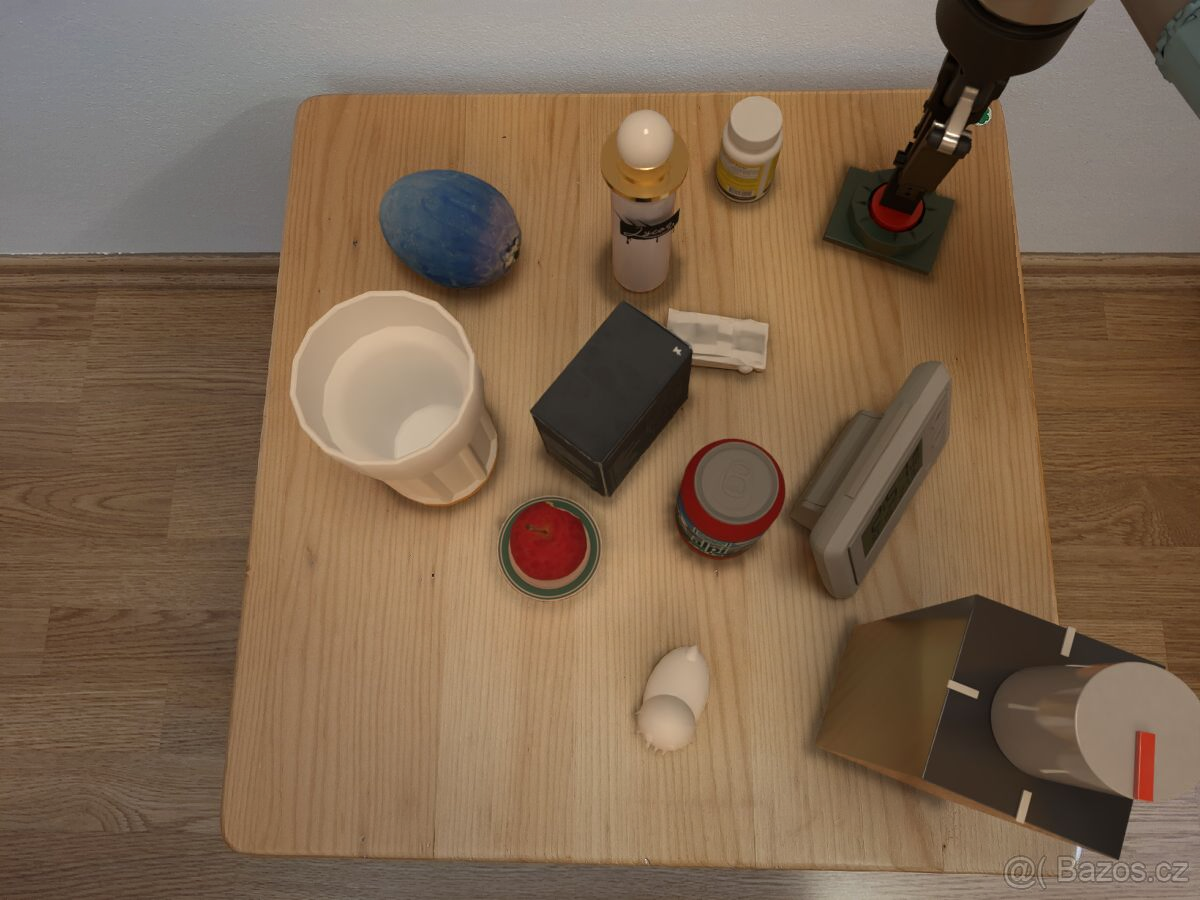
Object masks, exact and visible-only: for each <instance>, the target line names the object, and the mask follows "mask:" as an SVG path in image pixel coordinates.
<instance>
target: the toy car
mask: <svg viewBox="0 0 1200 900" xmlns="http://www.w3.org/2000/svg"><path fill="white" fill-rule="evenodd" d="M666 324H667V325H666V328H668V329H669V330H670V331H671V332H673V333H675V334H676V335H677V336H678V337H680V338H681V339H682V340H684V341H686V342H688V343H689V344H690V345H691V346H692V350H693V354H692V364H691V366H697V367H699V366H700V367H708V368H717V369H728V370H738V372H739V373H742V374H750V373H751V372H752V371H753V370H755V371H758V372H762V371H764V370H766V365H767V354H768V351H767V346H768V341H769V340H768V339H769V328H770V324H769V323H768V322H767V323H766V322H762V321H756V320H754V319H752V318H745V319H741V318H737V317H736V318H735V317H729V316H723V315H717V314H708V313H701V312H694V311H693V312H692V311H684V310H683V311H682V310H677V309H674V308H672V307H669V308H668V314H667V323H666Z"/></svg>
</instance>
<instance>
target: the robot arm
mask: <svg viewBox="0 0 1200 900" xmlns="http://www.w3.org/2000/svg"><path fill="white" fill-rule="evenodd" d="M1119 1H1120V2H1121V4H1122V6H1123V7H1124V9H1125V11H1126V12H1127V14H1128V16H1129V18H1130V19H1131V21H1132V23H1133V24H1134V26H1135V27H1136V29H1137V31H1138V32H1139V34H1140V36H1141V37H1142V39H1143V41H1144V42H1145V45H1147V47H1148V49H1149V50H1150V52H1151V55H1152V56H1153V58H1154V64H1155V66H1156V67H1157V69H1158V71H1159V73H1160V74H1161V75H1162V76H1163V77H1162V78H1163V80H1165V81H1166V82H1167V81H1168V84H1172V85H1173V86H1174V88H1175V89H1176V90H1177V92H1178V93H1179V95H1180V96H1181V97H1182V98H1183V99H1184V102H1186V103H1187V105H1188V106H1189V108H1190V109H1191V110H1192V111H1193V113H1194V114H1195V116H1196V117H1197V118H1198V119H1199V120H1200V0H1119ZM1095 2H1096V0H937V2H936V8H935V25H936V26H935V27H936V30H937V33H938V36H939V39H940V41H941V42H942V44H943V46H944V47H945V48H946V50H947V52H946V53H945V56H944V58H943V61H942V63H941V65H940V69H939V71H938V74H937V77H936V82H935V83H934V86H933V88H932V90H931V92H930V94H929V97H928V98H927V99H925V100H924V103H923V106H922V108H923V111H922V113H923V115H922V116H921V118H920V120H919V122H918V123H917V124H916V126H915V127H914V129H913V130H912V131H913V132H912V133H913V135H912V139H914V142H913V141H909V142H908V143H907V144H906V147H905V149H904V150H900V149H897V151H896V154H895V156H894V158H893V162H892V166H895V167H894V168H895V170H894V172H893V174H892V176H891V178H890V179H889V181H888V183H887V185H886V187H885V189H884V192H883V195H882V197H881V200H880V203H879V205H882V206H885V207H888V208H891V209H894V210H897V211H900V212H903V213H906V214H909V215H912V214H913V213H914V211H915V209H916V208H917V206H918V204H919V203H920V201H921V199H922V198H923V196H924V195H925V193H927V194H930V195H931V194H932V193H933V192H934V191H935V190H936V191H937V188H938V187H939V186H940V184H941V183H942V182H943V180H944V179H945V178H946V177H947V176H948V174H949V173H950V172H951V170H952V169H953V168H954V167H955V166H956V164H957V163H958V162H959V161H960V160H964V159H965V157H966V156H967V155H969V154H970V152H971V151H972V148H973V145H972V144H973V143H972V142H973V139H972V136H973V130H970V129H968V126H970V125H977V124H979V123H980V121H981V120H982V118H983V117H984V115H985V113H986V112H987V110H988V108H989V107H990V106H991V104H992V103H993V102H994V101H998V99H1000V98H1001V96H1002V94H1003V93H1004V91H1005V90H1006V87H1007V86H1008V84H1009V81H1010V79H1011V78H1012V77H1017V76H1022V75H1025V74H1028V73H1029V74H1030V73H1032V72H1034V71H1036V70H1038V69H1040V68H1042V67H1044V66H1045V65H1047V64H1048V63H1049V62H1051V61H1052V60H1053V59H1054V58H1055V57H1056V56H1057V55H1058V53H1059V52H1060V51H1061V50H1062V48H1063V47H1064V45H1065V44H1066V42H1067V41H1068V39H1069V38H1070V37H1071V35H1072V34H1073V32H1074V31H1075V29H1076V28H1077V26H1078V25H1079V23H1080V22H1081V21H1082V19H1083V18H1084V16H1085V15H1086V13H1087V11H1088V9H1089V7H1091V6H1092V5H1093V4H1095Z"/></svg>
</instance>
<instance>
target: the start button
mask: <svg viewBox="0 0 1200 900" xmlns="http://www.w3.org/2000/svg"><path fill="white" fill-rule="evenodd" d="M886 185H887V184H886ZM886 185H884V186H882V187H881V188H879V189H878V190H877V191H876V193H875V194H874V196H873V198H872V200H871V202H870V204H869V206H868V210H869V214H870V218H871V219H872V220H873V221H874V222H875V223H876V224H877V225H878V226H879V227H880V228H882V229H885V230H888V231H891V232H894V233H898V232H905V231H911V230H912V229H913V227H914V225H915V224H916V222H917V221H918V219H919V217H920V216H921V214H922V210H923V204H922V200H921V201H920V203H919V204H918V206H917V208H916V209H915V211H914V213H913V214H912V215H909V214H906V213H903V212H900V211H897V210H894V209H891V208H888V207H885V206H882V205H879V203H880V200H881V197H882V195H883V192H884V189H885V187H886Z"/></svg>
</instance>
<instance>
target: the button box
mask: <svg viewBox="0 0 1200 900" xmlns="http://www.w3.org/2000/svg"><path fill="white" fill-rule="evenodd" d="M895 168H896V167H893V168H886V169H879V170H875V171H873V172H871V171H868V170H865V169H863V168H858V167H856V166H854V165H850V167H849V169H848V170H847V174H846V176H845V179H844V182H843V185H842V188H841V190H840V193H839V195H838V198H837V200H836V202H835V206H834V209H833V211H832V214H831V216H830V219H829V221H828V224H827V227H826V229H825V232H824V234H823V237H822V240H823V241H825V242H828V243H831V244H835V245H837V246H840V247H843V248H845V249H848V250H852V251H855V252H858V253H860V254H863V255H866V256H868V257H873V258H875V259H878V260H881V261H884V262H886V263H890V264H893V265H896V266H899V267H901V268H904V269H908V270H910V271H914V272H916V273H919V274H922V275H924V276H929V275H930V274H931V273H932V270H933V268H934V264H935V261H936V258H937V256H938V253H939V250H940V246H941V244H942V242H943V241H942V240H943V237H944V235H945V232H946V229H947V226H948V224H949V220H950V218H951V215H952V211H953V209H954V206H955V203H956V200H955V199H954V198H949V197H947V196H944V195H941V194H938V193H937V189H936V190H935V191H934V192H933V193H932V194H931V195H930V194H927V193H925V195H924V196H923V198H922V199H921V200H922V204H923V210H922V214H921V216H920V217H919V219H918V221H917V222H916V224H915V225H914V227H913V229H912V230H911V231H905V232H898V233H894V232H891V231H888V230H885V229H882V228H880V227H879V226H878V225H877V224H876V223H875V222H874V221H873V220H872V219H871V218H870V214H869V210H868V206H869V204H870V202H871V200H872V198H873V196H874V194H875V193H876V191H877V190H878V189H879V188H881V187H882V186H884V185H886V184H887V183H888V181H889V179H890V178H891V176H892V174H893V172H894V170H895Z"/></svg>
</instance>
